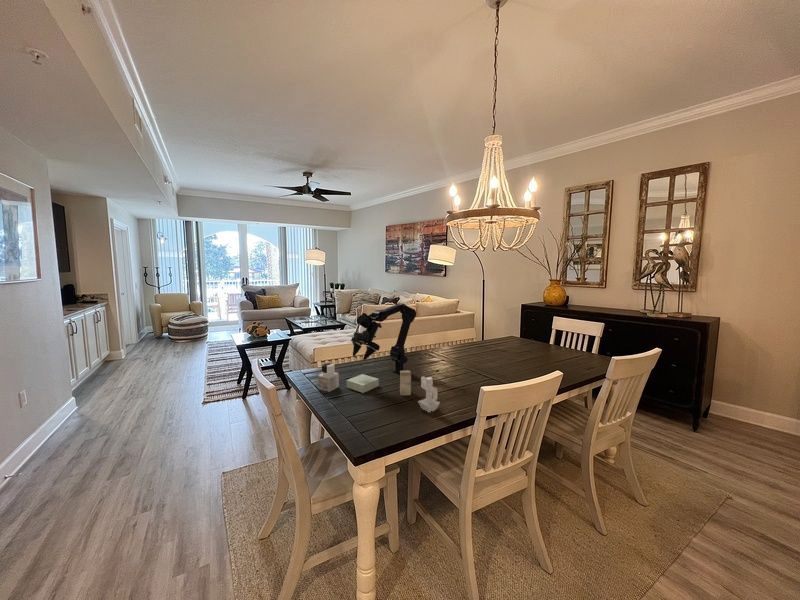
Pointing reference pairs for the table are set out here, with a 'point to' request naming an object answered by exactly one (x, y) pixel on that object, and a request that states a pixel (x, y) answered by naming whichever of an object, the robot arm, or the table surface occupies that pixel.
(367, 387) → the sage base block
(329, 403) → the table surface
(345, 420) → the table surface
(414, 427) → the table surface
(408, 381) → the maple block
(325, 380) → the container
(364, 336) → the robot arm
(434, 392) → the figurine
